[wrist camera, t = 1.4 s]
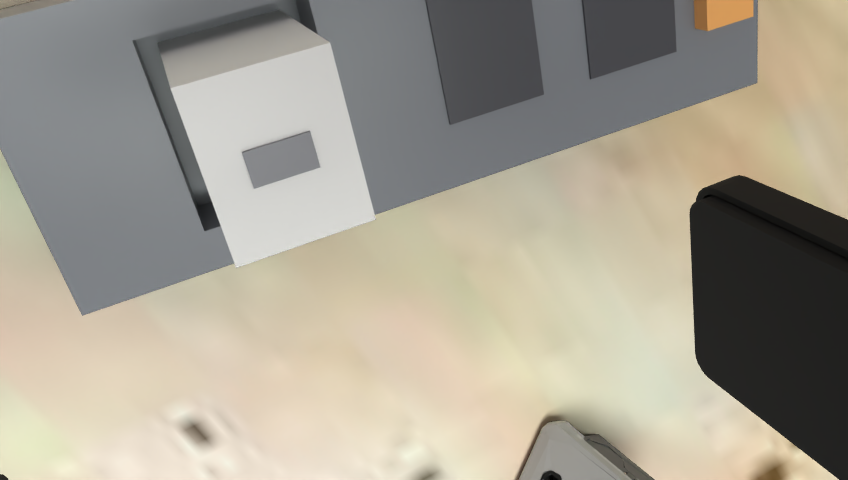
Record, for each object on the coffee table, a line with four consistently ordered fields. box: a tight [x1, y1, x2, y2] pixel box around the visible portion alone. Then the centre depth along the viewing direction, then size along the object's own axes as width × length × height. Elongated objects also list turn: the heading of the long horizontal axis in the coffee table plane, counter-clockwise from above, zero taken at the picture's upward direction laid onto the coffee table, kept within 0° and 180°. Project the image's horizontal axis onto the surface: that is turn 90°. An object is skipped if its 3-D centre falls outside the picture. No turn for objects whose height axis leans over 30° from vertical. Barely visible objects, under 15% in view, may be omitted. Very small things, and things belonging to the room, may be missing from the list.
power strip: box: [0, 0, 758, 316], centre depth 26 cm, size 26×9×4 cm, turn 102°
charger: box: [157, 10, 376, 268], centre depth 23 cm, size 4×5×7 cm
